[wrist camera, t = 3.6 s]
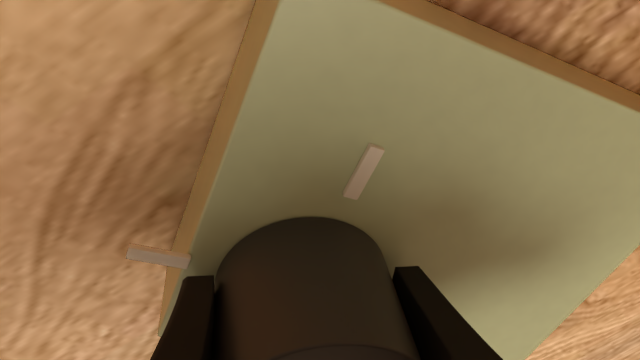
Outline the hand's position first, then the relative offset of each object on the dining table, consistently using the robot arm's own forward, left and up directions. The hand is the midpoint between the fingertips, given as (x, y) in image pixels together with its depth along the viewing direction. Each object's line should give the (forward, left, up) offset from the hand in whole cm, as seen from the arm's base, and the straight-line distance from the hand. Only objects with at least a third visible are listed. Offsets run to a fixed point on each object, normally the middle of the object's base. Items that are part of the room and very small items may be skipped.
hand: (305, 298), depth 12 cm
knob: (0, 0, -1) cm, 1 cm away
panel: (+3, +2, -4) cm, 5 cm away
